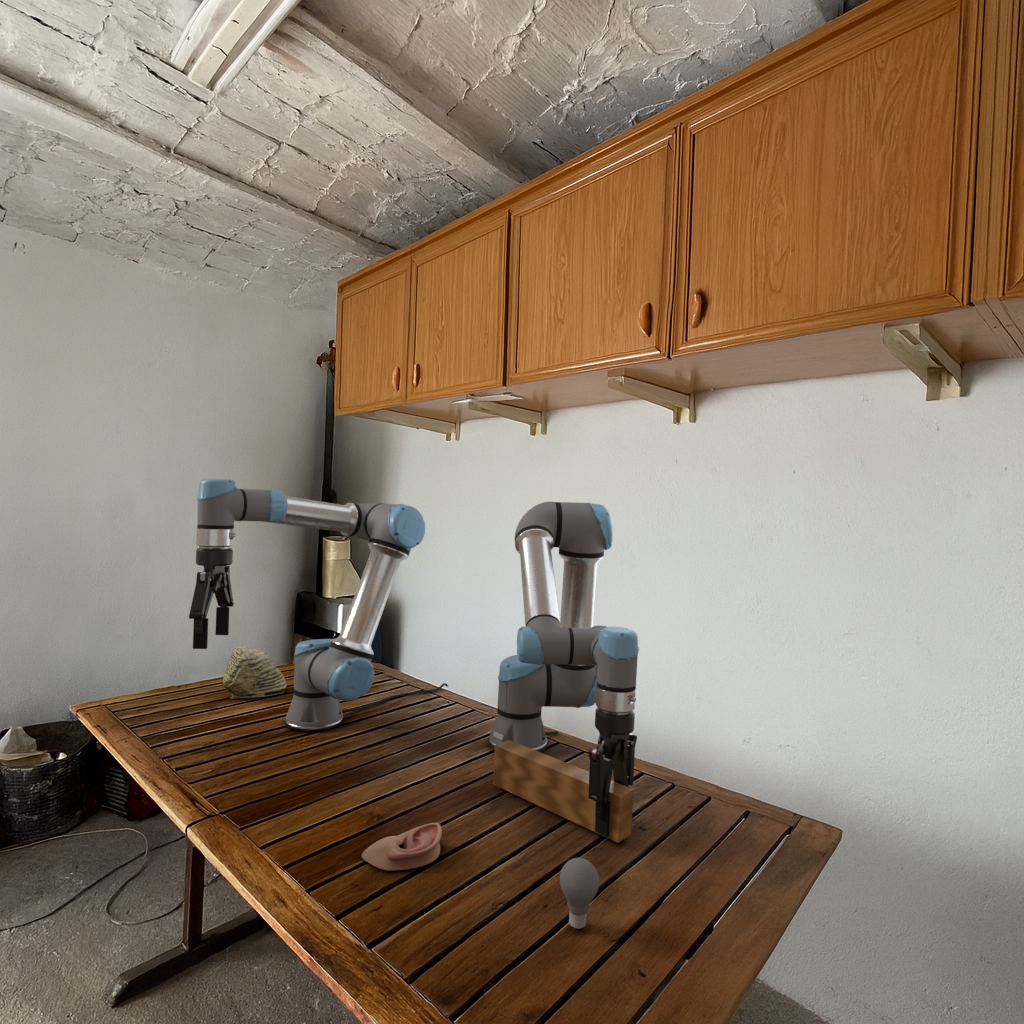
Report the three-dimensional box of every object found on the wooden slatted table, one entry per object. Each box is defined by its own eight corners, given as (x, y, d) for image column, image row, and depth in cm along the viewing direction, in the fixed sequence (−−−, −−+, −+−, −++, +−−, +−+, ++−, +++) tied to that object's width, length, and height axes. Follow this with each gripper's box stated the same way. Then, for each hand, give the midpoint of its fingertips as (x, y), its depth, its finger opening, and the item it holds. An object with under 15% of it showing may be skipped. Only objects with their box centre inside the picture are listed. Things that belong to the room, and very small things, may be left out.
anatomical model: (354, 842, 109) (381, 811, 120) (353, 865, 109) (380, 831, 121) (427, 854, 107) (448, 821, 118) (426, 877, 107) (447, 842, 118)
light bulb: (554, 912, 99) (557, 849, 99) (592, 912, 99) (595, 849, 99) (560, 939, 93) (564, 872, 93) (601, 939, 94) (604, 872, 93)
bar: (492, 784, 141) (494, 745, 141) (507, 778, 144) (508, 739, 144) (618, 843, 119) (620, 796, 118) (631, 834, 122) (633, 788, 122)
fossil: (218, 695, 195) (220, 647, 195) (278, 685, 208) (279, 640, 207) (228, 703, 189) (230, 653, 188) (289, 692, 201) (290, 645, 201)
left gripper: (212, 552, 130) (208, 655, 131) (249, 543, 155) (245, 630, 155) (173, 551, 129) (170, 654, 130) (217, 542, 154) (213, 629, 155)
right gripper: (605, 725, 113) (599, 854, 114) (655, 704, 126) (650, 820, 127) (571, 714, 118) (566, 837, 119) (623, 695, 131) (618, 806, 132)
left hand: (211, 641), depth 143 cm, fingers open, 13 cm apart
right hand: (609, 828), depth 123 cm, fingers closed on bar, 5 cm apart
